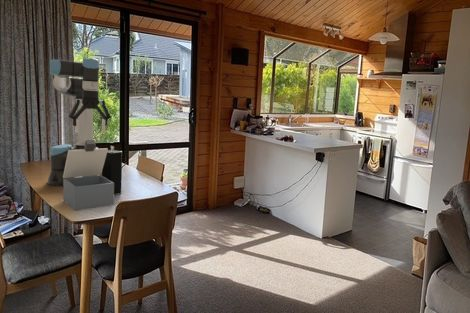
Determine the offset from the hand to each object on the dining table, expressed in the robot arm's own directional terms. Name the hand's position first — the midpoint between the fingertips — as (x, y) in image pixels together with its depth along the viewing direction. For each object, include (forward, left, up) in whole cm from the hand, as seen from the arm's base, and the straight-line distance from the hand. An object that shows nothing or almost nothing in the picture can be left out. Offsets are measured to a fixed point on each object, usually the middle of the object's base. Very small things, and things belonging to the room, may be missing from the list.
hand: (90, 132), depth 189 cm
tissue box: (-12, +17, -38) cm, 44 cm away
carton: (-1, 0, -38) cm, 38 cm away
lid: (-4, 0, -16) cm, 16 cm away
